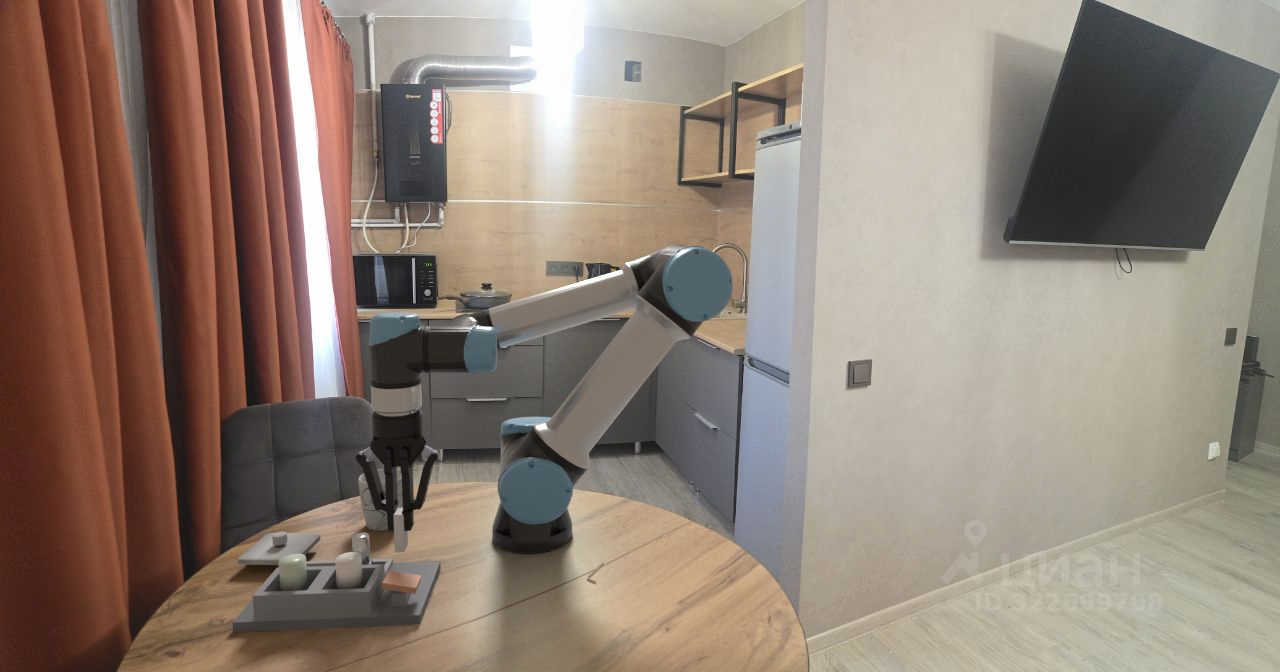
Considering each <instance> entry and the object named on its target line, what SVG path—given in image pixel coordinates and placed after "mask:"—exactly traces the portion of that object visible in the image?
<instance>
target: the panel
mask: <svg viewBox="0 0 1280 672" xmlns="http://www.w3.org/2000/svg"><path fill="white" fill-rule="evenodd" d="M370 560H373V565H362V577H363V581H362V583H361V584H360V585H359V586H357V587H354V588H350V589H340V588H338V587H337V583H336V564H335V560H315V561H314V560H310V561H307V560H306V567H307V584H306V585H305V586H304V587H302V588H300V589H298V590H294V591H283V590H281V588H280V577H279V567H276V568H275V569H274V571H273V572H272V573H271V574H270V575H269V576H268V577H267V578H266V580H265V581H264V583H262V584H261V586H259V588H257V590H256V591H255V592H254V594H253V595H252V599H251V600H250V601H249V603H248V604H247V605H246V606H245V607H244V609H242V611H240V613H239V614H238V615H237V617H235V619H234V620H233V621H232V622H231V623H232V633H243V632H244V633H245V632H271V631H273V632H274V631H295V630H317V629H322V630H323V629H338V628H339V629H342V628H343V629H345V628H364V627H365V628H368V627H387V626H389V627H390V626H391V627H393V626H413V625H414V626H415V625H418V626H419V625H421V623H422V620H423V617H424V615H425V613H426V610H427V606H428V605H429V601H430V600H431V599H430V598H431V595H432V594H433V590H434V588H435V586H436V583H437V580H438V578H439V575H440V572H441V570H442V569H441V568H442V567H441V561H412V562H411V561H410V562H407V561H406V562H394V559H393V558H375V559H373V558H370ZM388 571H395V572H402V573H408V574H414V575H421V581H420V584H419V586H418V588H417V591H416V593H415V594H411V593H404V592H400V593H399V594H397V593H396V592H395V591H391V590H385V589H381V587H382V582H383V580H384V579H385V577H386V575H387V573H388Z"/></svg>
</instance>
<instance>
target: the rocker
mask: <svg viewBox="0 0 1280 672" xmlns="http://www.w3.org/2000/svg"><path fill="white" fill-rule="evenodd" d="M420 581H421V575H414V574H408V573H402V572H395V571H388V573H387V575H386V577H385V579H384V580H383V582H382V587H381V589H385V590H391V591H395V592H396V593H397V594H399V593H400V592H404V593H411V594H415V593H416V591H417V588H418V586H419V584H420Z"/></svg>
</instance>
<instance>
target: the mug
mask: <svg viewBox="0 0 1280 672" xmlns="http://www.w3.org/2000/svg"><path fill="white" fill-rule="evenodd" d="M377 471H378V475H379V478H380V481H381V485H382V488H383V491H384V495H385V498H386V490H385V474H384V468H378V469H377ZM358 490H359V498H360V504H361V510H362V513H363V517H364V521H365V526H366V527H367V529H369V530H370V531H374V532H384V531H389V530H388V524H387V513H386V512H385V511H383V510H376V509H375V508H374V504H373V501H372V498H371V494H370V491H369V488H368V485H367V481H366V478H365V475H364V473H362V474H360V476H358ZM397 498H398V503H399V504H398V506H397V508H403V501H402V474H401V469H398V468H397Z"/></svg>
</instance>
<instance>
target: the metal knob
mask: <svg viewBox="0 0 1280 672" xmlns="http://www.w3.org/2000/svg"><path fill="white" fill-rule="evenodd" d="M351 545H352V547H351V548H352V549H351V550H352V551H351V552H357V553H360V554H361V556H362V565H373V560H370V559H371V549H370V534H369V533H368V532H358V533H355V534H353V535H352V536H351Z"/></svg>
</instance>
